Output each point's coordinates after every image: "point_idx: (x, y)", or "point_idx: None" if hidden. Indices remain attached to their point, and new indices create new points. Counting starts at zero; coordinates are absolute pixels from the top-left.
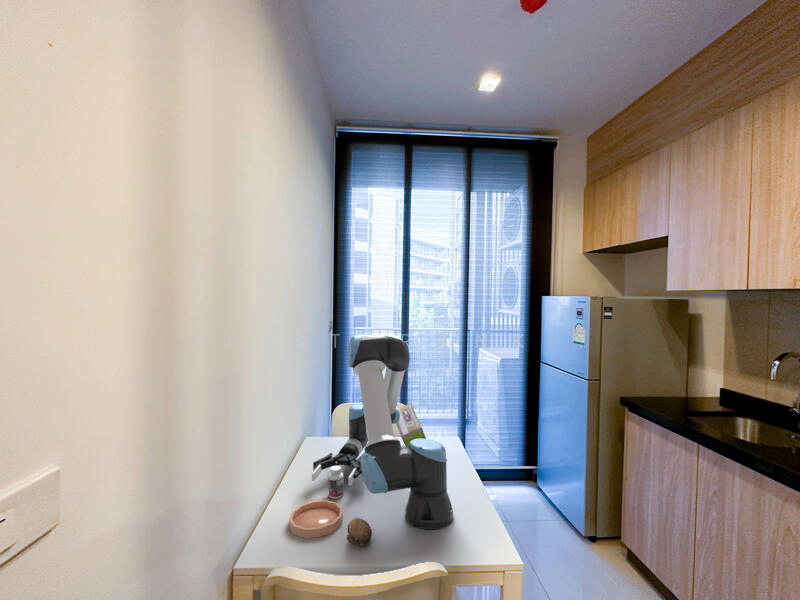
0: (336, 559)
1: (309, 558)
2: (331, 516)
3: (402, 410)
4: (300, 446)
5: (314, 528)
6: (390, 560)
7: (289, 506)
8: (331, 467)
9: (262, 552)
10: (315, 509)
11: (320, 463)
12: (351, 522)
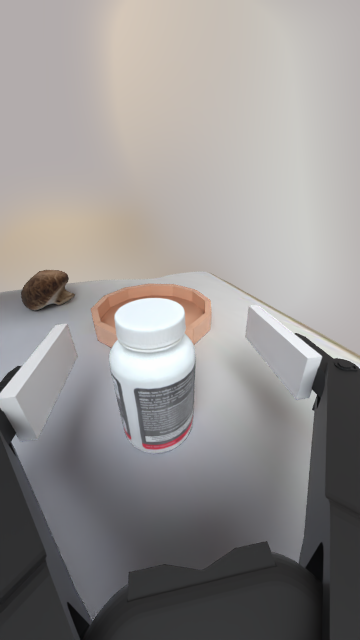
0: (88, 286)
1: (126, 282)
2: None
3: None
4: None
5: (136, 286)
6: (5, 294)
7: None
8: (178, 310)
9: (192, 279)
10: None
11: (340, 374)
12: (58, 271)
